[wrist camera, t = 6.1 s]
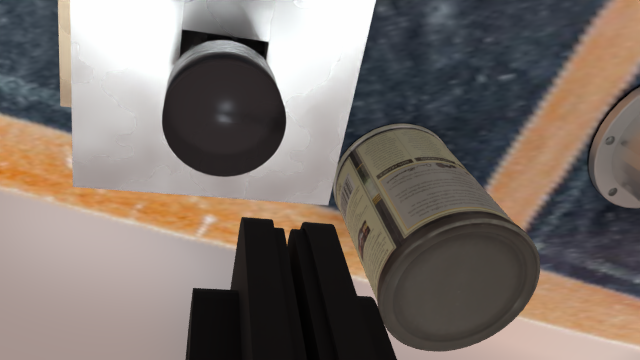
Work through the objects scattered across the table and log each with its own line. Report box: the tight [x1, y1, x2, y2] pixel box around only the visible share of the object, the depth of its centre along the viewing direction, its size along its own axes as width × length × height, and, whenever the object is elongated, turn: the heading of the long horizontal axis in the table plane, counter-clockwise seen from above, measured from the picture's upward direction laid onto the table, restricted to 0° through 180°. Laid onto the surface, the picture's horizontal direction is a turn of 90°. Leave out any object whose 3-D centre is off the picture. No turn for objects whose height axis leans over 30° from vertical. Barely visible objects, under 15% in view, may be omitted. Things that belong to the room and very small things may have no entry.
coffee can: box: [333, 124, 540, 351], centre depth 39 cm, size 10×10×14 cm
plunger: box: [162, 29, 286, 177], centre depth 23 cm, size 7×7×16 cm
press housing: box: [58, 0, 376, 205], centre depth 28 cm, size 18×18×18 cm
